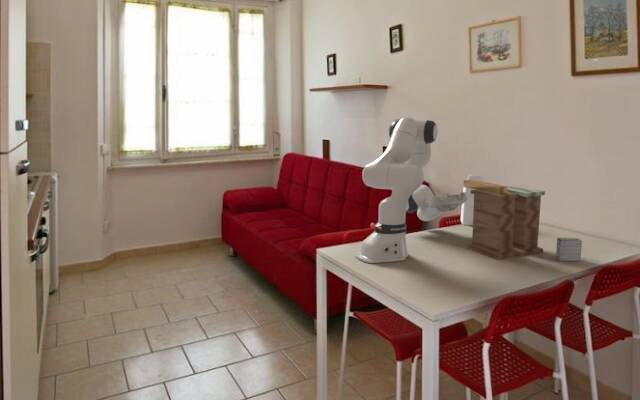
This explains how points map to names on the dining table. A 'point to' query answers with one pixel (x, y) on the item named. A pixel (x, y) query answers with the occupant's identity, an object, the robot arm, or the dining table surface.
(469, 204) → the milk
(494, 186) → the oak bar
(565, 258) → the medicine box
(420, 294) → the dining table surface
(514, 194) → the twin stand
